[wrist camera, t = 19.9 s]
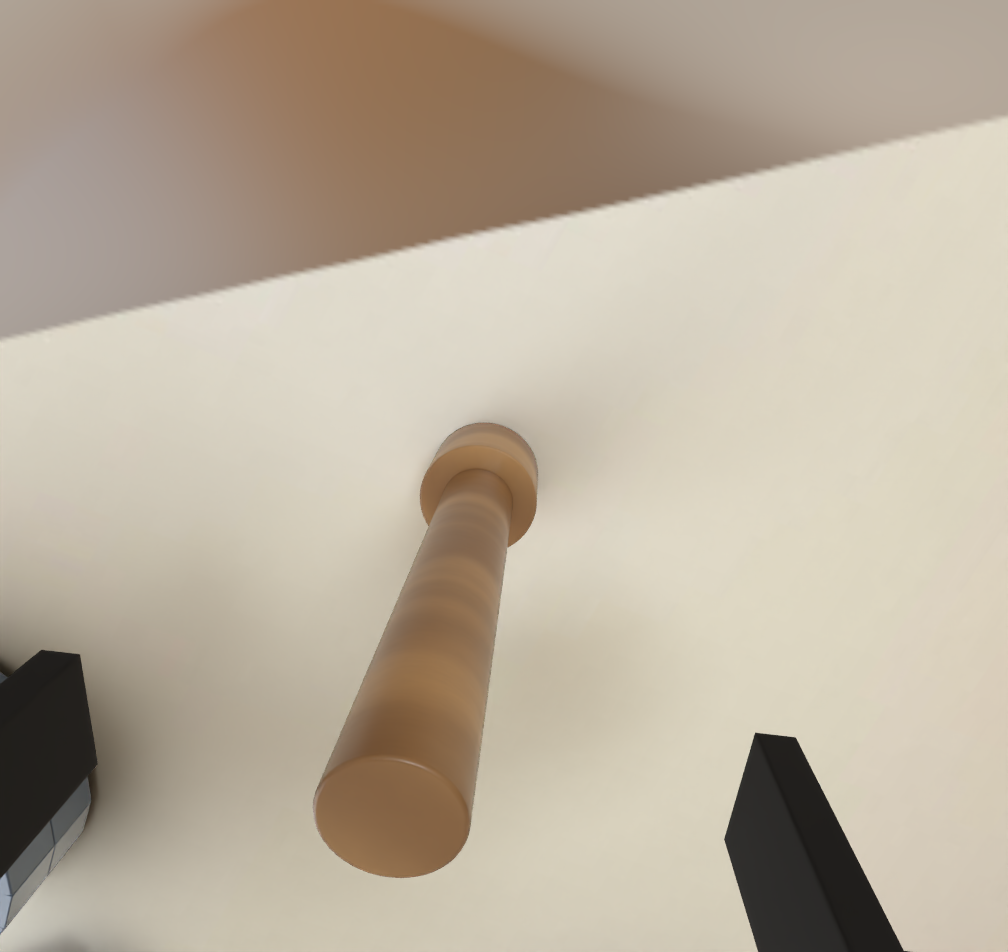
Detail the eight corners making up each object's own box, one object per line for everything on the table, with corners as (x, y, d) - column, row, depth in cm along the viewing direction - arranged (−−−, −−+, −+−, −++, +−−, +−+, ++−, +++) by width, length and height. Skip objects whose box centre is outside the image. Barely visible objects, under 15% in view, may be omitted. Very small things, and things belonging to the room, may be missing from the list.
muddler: (461, 403, 24) (315, 666, 9) (556, 452, 24) (573, 784, 9) (417, 492, 25) (223, 854, 10) (508, 537, 26) (452, 950, 10)
